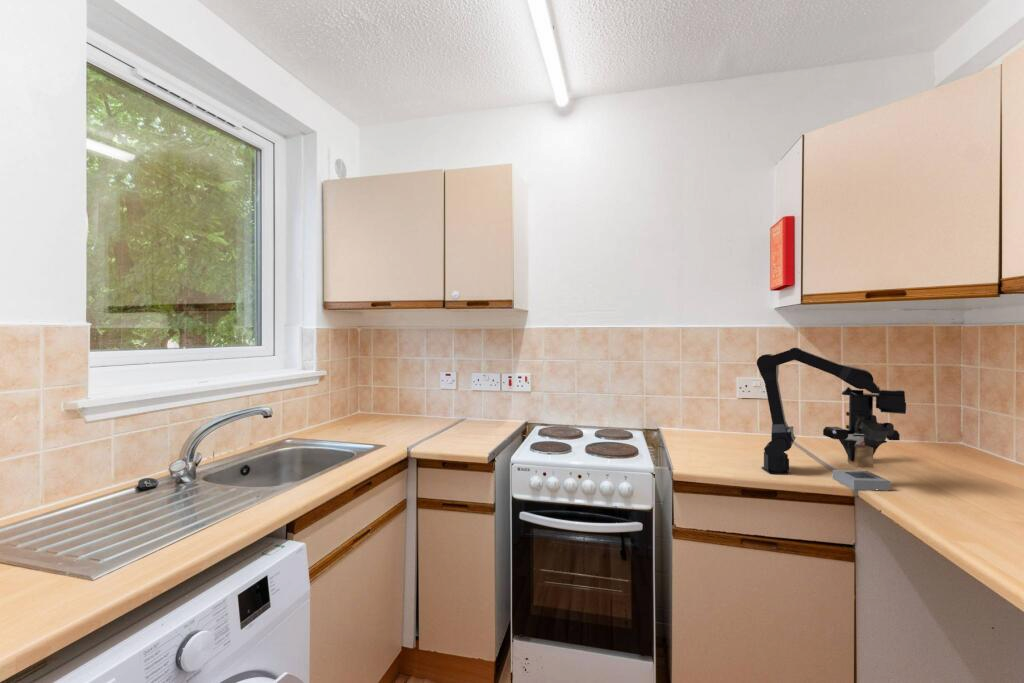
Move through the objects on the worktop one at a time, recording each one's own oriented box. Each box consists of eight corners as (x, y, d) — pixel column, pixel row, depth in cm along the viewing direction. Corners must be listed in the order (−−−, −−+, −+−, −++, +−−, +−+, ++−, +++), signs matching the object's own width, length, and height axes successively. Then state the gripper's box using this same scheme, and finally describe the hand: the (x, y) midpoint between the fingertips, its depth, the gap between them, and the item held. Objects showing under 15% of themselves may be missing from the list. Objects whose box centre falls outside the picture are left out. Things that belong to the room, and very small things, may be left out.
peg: (857, 467, 134) (857, 447, 134) (847, 463, 139) (848, 443, 138) (873, 467, 134) (873, 447, 134) (862, 463, 138) (863, 444, 138)
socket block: (854, 490, 132) (854, 480, 132) (832, 479, 142) (832, 469, 142) (890, 491, 131) (890, 481, 131) (866, 480, 141) (866, 470, 141)
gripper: (845, 415, 129) (845, 468, 129) (915, 415, 127) (914, 470, 127) (822, 408, 140) (821, 457, 140) (886, 409, 138) (885, 459, 138)
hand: (860, 461), depth 136 cm, fingers closed on peg, 4 cm apart
